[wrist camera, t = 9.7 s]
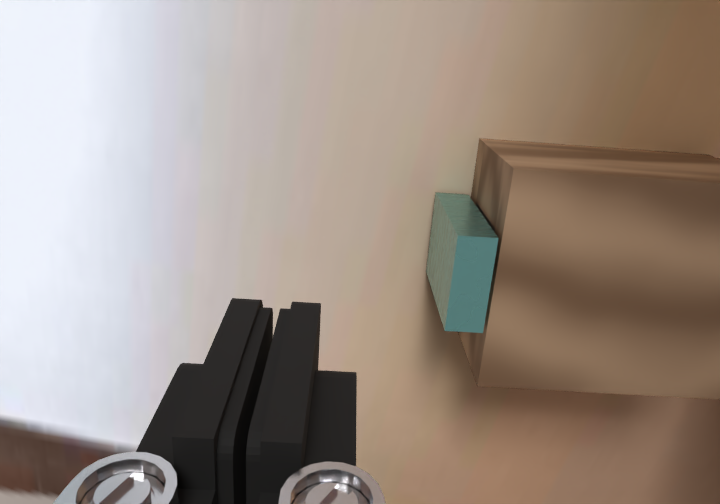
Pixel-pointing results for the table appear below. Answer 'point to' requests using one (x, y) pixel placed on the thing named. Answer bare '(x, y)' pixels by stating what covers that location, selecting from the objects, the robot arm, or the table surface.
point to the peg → (460, 262)
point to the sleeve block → (599, 270)
